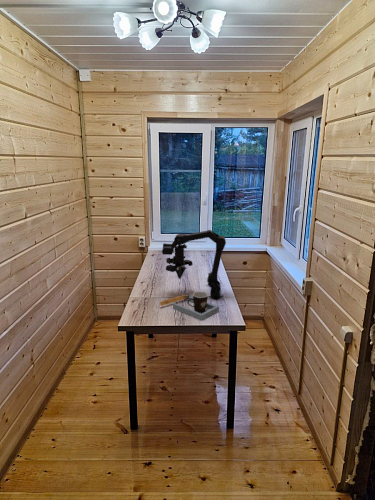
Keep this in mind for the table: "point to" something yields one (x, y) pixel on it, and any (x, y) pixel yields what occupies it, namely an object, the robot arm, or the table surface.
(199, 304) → the coffee mug
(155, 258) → the table surface
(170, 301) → the orange bar
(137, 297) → the table surface
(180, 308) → the frame
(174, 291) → the table surface
